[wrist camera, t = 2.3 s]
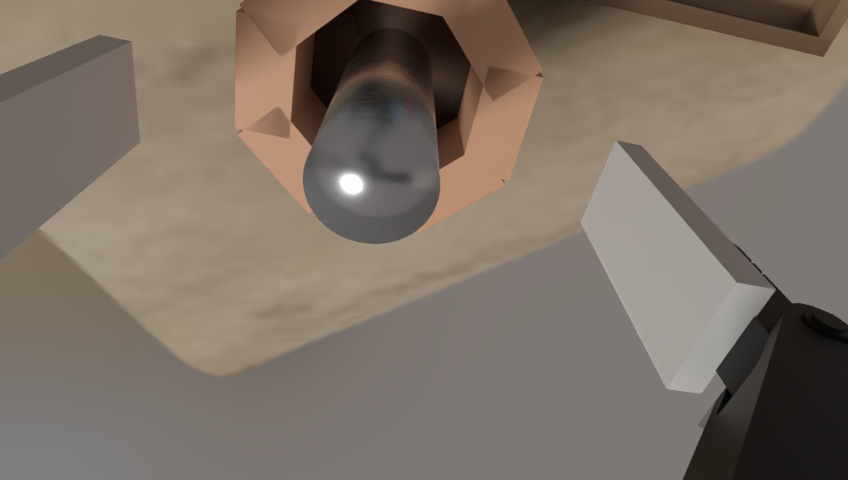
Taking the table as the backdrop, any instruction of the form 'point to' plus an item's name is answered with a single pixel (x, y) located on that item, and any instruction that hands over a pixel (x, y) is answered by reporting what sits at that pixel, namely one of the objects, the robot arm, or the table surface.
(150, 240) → the table surface
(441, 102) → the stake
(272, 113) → the ring
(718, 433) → the robot arm
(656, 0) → the tray
